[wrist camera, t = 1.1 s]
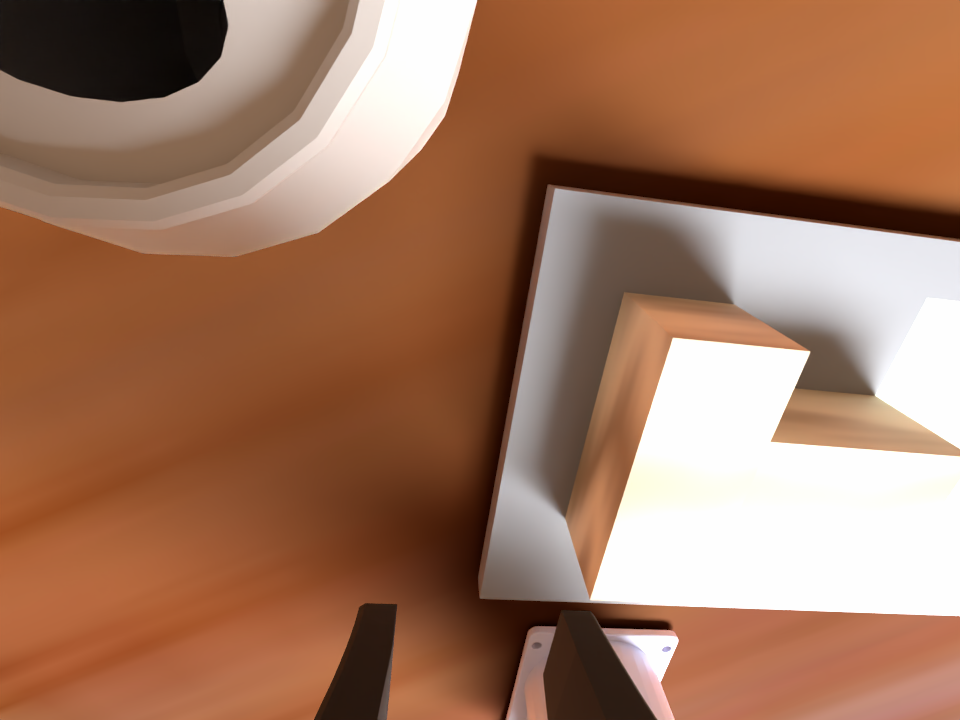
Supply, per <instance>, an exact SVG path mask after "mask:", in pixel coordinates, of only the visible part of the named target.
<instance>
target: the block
mask: <svg viewBox="0 0 960 720" xmlns="http://www.w3.org/2000/svg"><path fill="white" fill-rule="evenodd" d="M810 352H811V351H809V350H807V349H806V348H804V347H802V346H801V345H799V344H798V343H796V342H794V341H793V340H791V339H790V338H788V337H786V336H785V335H783V334H781V333H780V332H778V331H777V330H775V329H773V328H772V327H770V326H768V325H767V324H765V323H764V322H762V321H760V320H759V319H757V318H755V317H754V316H752V315H751V314H749V313H747V312H746V311H744V310H743V309H741V308H739V307H738V306H736V305H734V304H727V303H718V302H709V301H699V300H690V299H681V298H672V297H663V296H654V295H645V294H636V293H627V292H624V295H623V298H622V302H621V306H620V310H619V314H618V318H617V321H616V325H615V329H614V333H613V337H612V341H611V344H610V348H609V352H608V356H607V360H606V364H605V367H604V371H603V375H602V379H601V383H600V387H599V390H598V394H597V398H596V402H595V406H594V410H593V413H592V417H591V421H590V425H589V429H588V432H587V436H586V440H585V444H584V448H583V452H582V455H581V459H580V463H579V467H578V471H577V475H576V478H575V482H574V486H573V490H572V494H571V498H570V501H569V505H568V509H567V513H566V517H565V520H566V523H567V527H568V530H569V533H570V536H571V540H572V543H573V546H574V549H575V553H576V556H577V559H578V563H579V566H580V569H581V572H582V576H583V579H584V582H585V585H586V589H587V592H588V595H589V598H590V600H599V601H626V602H654V603H681V604H698V602H699V600H700V597H701V595H702V593H703V591H704V588H705V586H706V584H707V582H708V579H709V577H710V575H711V573H712V570H713V568H714V566H715V564H716V562H717V559H718V557H719V555H720V553H721V550H722V548H723V546H724V544H725V542H742V543H761V544H780V545H799V546H818V547H838V548H857V549H876V550H895V551H913V550H914V548H915V547H916V545H917V544H918V542H919V541H920V539H921V538H922V536H923V535H924V533H925V532H926V530H927V528H928V527H929V525H930V524H931V522H932V521H933V519H934V518H935V516H936V515H937V513H938V512H939V510H940V509H941V507H942V506H943V504H944V503H945V501H946V500H947V498H948V497H949V495H950V494H951V492H952V491H953V489H954V488H955V486H956V485H957V483H958V482H959V480H960V448H958V447H956V446H955V445H953V444H952V443H950V442H948V441H947V440H945V439H944V438H942V437H940V436H939V435H937V434H936V433H934V432H932V431H931V430H929V429H928V428H926V427H924V426H923V425H921V424H920V423H918V422H916V421H915V420H913V419H912V418H910V417H908V416H907V415H905V414H904V413H902V412H901V411H899V410H897V409H896V408H894V407H893V406H891V405H889V404H888V403H886V402H885V401H883V400H881V399H880V398H878V397H877V396H873V395H862V394H851V393H840V392H829V391H818V390H807V389H796V388H794V387H795V385H796V383H797V381H798V379H799V376H800V374H801V372H802V370H803V367H804V365H805V363H806V361H807V358H808V356H809V354H810Z"/></svg>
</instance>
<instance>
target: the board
mask: <svg viewBox="0 0 960 720" xmlns="http://www.w3.org/2000/svg"><path fill="white" fill-rule="evenodd" d="M624 292H627V293H636V294H645V295H654V296H663V297H672V298H681V299H690V300H699V301H709V302H718V303H727V304H734V305H736V306H738V307H739V308H741V309H743V310H744V311H746V312H747V313H749V314H751V315H752V316H754V317H755V318H757V319H759V320H760V321H762V322H764V323H765V324H767V325H768V326H770V327H772V328H773V329H775V330H777V331H778V332H780V333H781V334H783V335H785V336H786V337H788V338H790V339H791V340H793V341H794V342H796V343H798V344H799V345H801V346H802V347H804V348H806V349H807V350H809V351H811V352H810V354H809V356H808V358H807V361H806V363H805V365H804V367H803V370H802V372H801V374H800V376H799V379H798V381H797V383H796V385H795V387H794V388H796V389H807V390H818V391H829V392H840V393H851V394H862V395H873V396H877V397H878V398H880V399H881V400H883V401H885V402H886V403H888V404H889V405H891V406H893V407H894V408H896V409H897V410H899V411H901V412H902V413H904V414H905V415H907V416H908V417H910V418H912V419H913V420H915V421H916V422H918V423H920V424H921V425H923V426H924V427H926V428H928V429H929V430H931V431H932V432H934V433H936V434H937V435H939V436H940V437H942V438H944V439H945V440H947V441H948V442H950V443H952V444H953V445H955V446H956V447H958V448H960V239H955V238H948V237H940V236H933V235H925V234H918V233H910V232H903V231H895V230H888V229H880V228H873V227H865V226H858V225H850V224H843V223H835V222H828V221H820V220H812V219H805V218H797V217H790V216H782V215H775V214H767V213H760V212H752V211H745V210H737V209H730V208H722V207H715V206H707V205H700V204H692V203H685V202H677V201H670V200H662V199H655V198H647V197H640V196H632V195H625V194H617V193H610V192H602V191H595V190H587V189H580V188H572V187H565V186H557V185H549V184H548V186H547V191H546V197H545V202H544V208H543V214H542V219H541V225H540V231H539V236H538V242H537V248H536V253H535V259H534V265H533V270H532V276H531V281H530V287H529V293H528V298H527V304H526V310H525V315H524V321H523V327H522V332H521V338H520V343H519V349H518V355H517V360H516V366H515V372H514V377H513V383H512V389H511V394H510V400H509V405H508V411H507V417H506V422H505V428H504V434H503V439H502V445H501V451H500V456H499V462H498V468H497V473H496V479H495V484H494V490H493V496H492V501H491V507H490V513H489V518H488V524H487V530H486V535H485V541H484V546H483V552H482V558H481V563H480V569H479V575H478V583H479V597H480V599H501V600H529V601H557V602H585V603H612V604H640V605H668V606H696V607H723V608H751V609H779V610H807V611H834V612H862V613H890V614H918V615H945V616H960V480H959V482H958V483H957V485H956V486H955V488H954V489H953V491H952V492H951V494H950V495H949V497H948V498H947V500H946V501H945V503H944V504H943V506H942V507H941V509H940V510H939V512H938V513H937V515H936V516H935V518H934V519H933V521H932V522H931V524H930V525H929V527H928V528H927V530H926V532H925V533H924V535H923V536H922V538H921V539H920V541H919V542H918V544H917V545H916V547H915V548H914V550H913V551H895V550H876V549H857V548H838V547H818V546H799V545H780V544H761V543H742V542H725V544H724V546H723V548H722V550H721V553H720V555H719V557H718V559H717V562H716V564H715V566H714V568H713V570H712V573H711V575H710V577H709V579H708V582H707V584H706V586H705V588H704V591H703V593H702V595H701V597H700V600H699V602H698V604H681V603H654V602H626V601H599V600H590V598H589V595H588V592H587V589H586V585H585V582H584V579H583V576H582V572H581V569H580V566H579V563H578V559H577V556H576V553H575V549H574V546H573V543H572V540H571V536H570V533H569V530H568V527H567V523H566V520H565V517H566V513H567V509H568V505H569V501H570V498H571V494H572V490H573V486H574V482H575V478H576V475H577V471H578V467H579V463H580V459H581V455H582V452H583V448H584V444H585V440H586V436H587V432H588V429H589V425H590V421H591V417H592V413H593V410H594V406H595V402H596V398H597V394H598V390H599V387H600V383H601V379H602V375H603V371H604V367H605V364H606V360H607V356H608V352H609V348H610V344H611V341H612V337H613V333H614V329H615V325H616V321H617V318H618V314H619V310H620V306H621V302H622V298H623V295H624Z"/></svg>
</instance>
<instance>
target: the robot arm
mask: <svg viewBox="0 0 960 720" xmlns="http://www.w3.org/2000/svg"><path fill="white" fill-rule="evenodd" d="M396 611H397V604H369V603H365V604H364V605H362V606H361V607H359V610H358V614H357V618H356V621H355V624H354V627H353V630H352V633H351V636H350V639H349V642H348V644H347V647H346V649H345V652H344V654H343V657H342V659H341V662H340V664H339V666H338V669H337V671H336V673H335V676H334V678H333V680H332V683H331V685H330V687H329V689H328V691H327V693H326V695H325V697H324V700H323V702H322V704H321V706H320V708H319V710H318V712H317V714H316V717H315V719H314V720H387V711H388V701H389V691H390V680H391V669H392V658H393V646H394V634H395V623H396ZM677 643H678V638H677V636H676V634H675V632H674V631H671V630H650V629H617V628H601V626H600V625H599V623H598V621H597V619H596V618H595V616H594V615H593V613H592V612H591V611H575V610H561V613H560V616H559V620H558V623H557V627H551V626H535V627H533V628H531V629H530V630H529V631H528V633H527V637H526V641H525V645H524V649H523V653H522V657H521V661H520V665H519V669H518V673H517V677H516V681H515V685H514V689H513V693H512V697H511V701H510V705H509V709H508V713H507V717H506V720H675V719H674V717H673V714H672V711H671V709H670V706H669V704H668V701H667V698H666V696H665V693H664V691H663V688H662V686H661V683H660V681H661V679H662V677H663V675H664V672H665V670H666V668H667V666H668V663H669V661H670V659H671V657H672V654H673V652H674V650H675V648H676V645H677Z"/></svg>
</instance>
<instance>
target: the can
mask: <svg viewBox="0 0 960 720" xmlns="http://www.w3.org/2000/svg"><path fill="white" fill-rule="evenodd" d="M476 3H477V0H0V207H2V208H6V209H9V210H12V211H15V212H18V213H21V214H24V215H27V216H31V217H34V218H37V219H40V220H42V221H43V222H46V223H49V224H52V225H55V226H58V227H61V228H65V229H68V230H71V231H74V232H77V233H80V234H83V235H87V236H90V237H93V238H96V239H99V240H102V241H105V242H108V243H112V244H115V245H118V246H121V247H124V248H127V249H130V250H133V251H137V252H140V253H143V254H168V255H197V256H225V257H237V256H240V255H243V254H247V253H250V252H254V251H257V250H261V249H264V248H268V247H271V246H274V245H278V244H281V243H285V242H288V241H292V240H295V239H299V238H302V237H305V236H309V235H312V234H316V233H319V232H320V231H321V230H323V229H324V228H326V227H327V226H328V225H330V224H331V223H332V222H334V221H335V220H337V219H338V218H339V217H341V216H342V215H343V214H345V213H346V212H348V211H349V210H350V209H352V208H353V207H354V206H356V205H357V204H359V203H360V202H361V201H363V200H364V199H366V198H367V197H368V196H370V195H371V194H372V193H374V192H375V191H377V190H378V189H379V188H381V187H382V186H383V185H385V184H386V183H388V182H389V181H390V180H391V179H392V178H393V177H394V176H395V175H396V174H397V173H398V172H399V171H400V170H401V169H402V168H403V167H404V166H405V165H406V164H407V163H408V162H409V161H410V160H411V159H412V158H413V157H414V156H415V155H416V154H417V153H418V152H419V151H420V150H421V149H422V148H423V146H424V145H425V144H426V142H427V141H428V139H429V138H430V136H431V135H432V134H433V132H434V131H435V129H436V128H437V126H438V125H439V124H440V122H441V121H442V119H443V118H444V116H445V114H446V111H447V108H448V105H449V102H450V99H451V95H452V92H453V89H454V86H455V83H456V80H457V77H458V73H459V70H460V66H461V62H462V58H463V54H464V50H465V46H466V42H467V38H468V34H469V30H470V27H471V23H472V19H473V15H474V11H475V7H476Z"/></svg>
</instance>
